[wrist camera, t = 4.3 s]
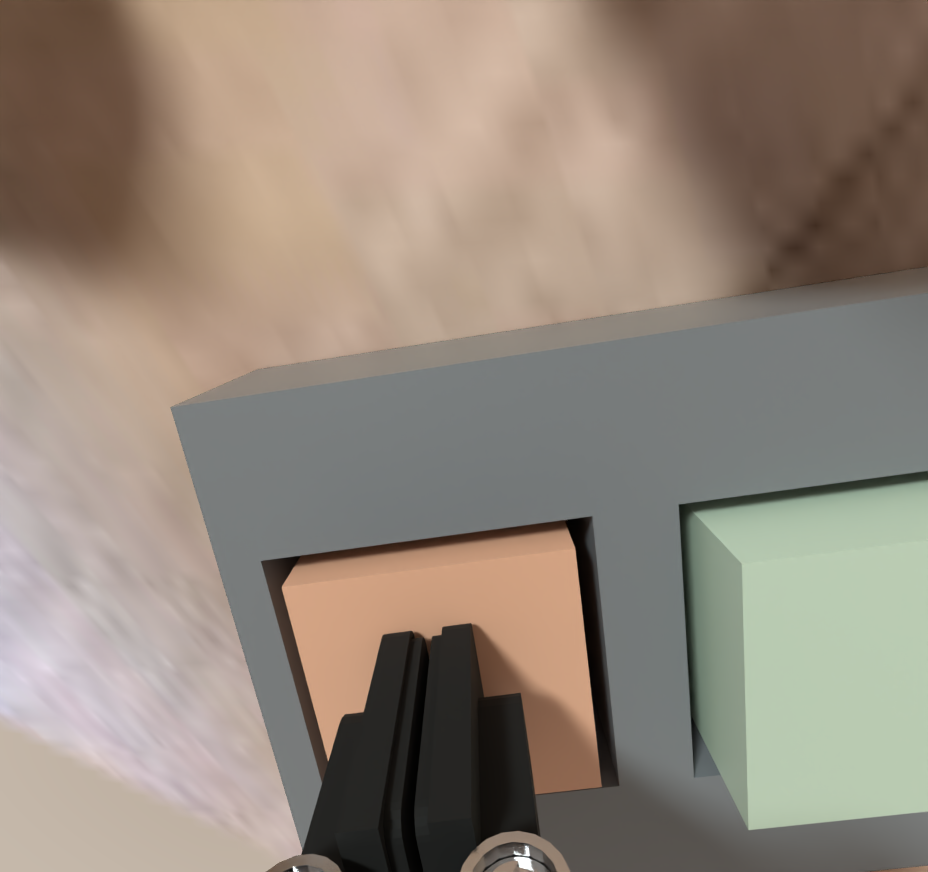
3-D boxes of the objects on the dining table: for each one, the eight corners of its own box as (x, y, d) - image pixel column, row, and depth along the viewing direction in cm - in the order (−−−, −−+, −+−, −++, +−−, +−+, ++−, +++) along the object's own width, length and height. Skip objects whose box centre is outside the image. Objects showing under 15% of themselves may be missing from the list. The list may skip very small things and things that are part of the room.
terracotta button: (546, 471, 14) (575, 548, 10) (568, 656, 15) (601, 786, 11) (334, 501, 14) (281, 587, 10) (375, 679, 15) (343, 815, 11)
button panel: (1278, 213, 12) (1650, 183, 8) (1177, 681, 15) (1412, 816, 12) (256, 369, 13) (170, 407, 10) (358, 774, 17) (325, 925, 13)
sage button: (903, 440, 12) (1104, 517, 8) (892, 649, 14) (1059, 798, 10) (657, 474, 12) (741, 563, 9) (671, 675, 14) (748, 829, 10)
